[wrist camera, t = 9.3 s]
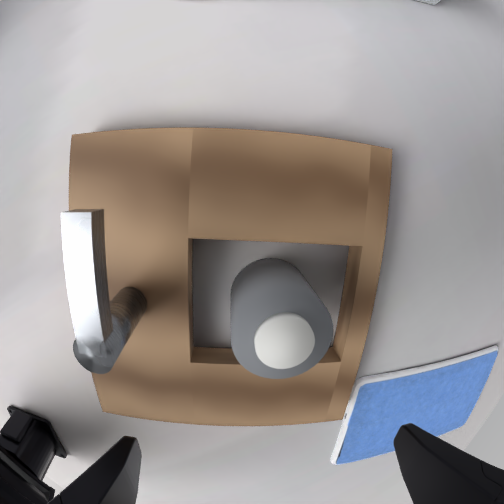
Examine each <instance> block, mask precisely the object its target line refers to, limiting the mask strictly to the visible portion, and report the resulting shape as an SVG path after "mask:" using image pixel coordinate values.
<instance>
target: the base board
mask: <svg viewBox="0 0 504 504" xmlns="http://www.w3.org/2000/svg"><path fill="white" fill-rule="evenodd" d="M391 167H392V149H389V148H384V147H379V146H374V145H369V144H363V143H358V142H352V141H346V140H340V139H333V138H326V137H319V136H311V135H303V134H294V133H285V132H274V131H262V130H247V129H228V128H146V129H128V130H114V131H102V132H92V133H83V134H74V135H72V138H71V150H70V167H69V211H70V210H74V209H104V229H105V253H106V268H107V280H108V291H109V300H110V301H111V300H112V299H113V297H114V296H115V295H116V294H117V293H118V292H119V291H120V290H121V289H123V288H125V287H134V288H137V289H138V290H140V291H141V292H142V293H143V294H144V296H145V297H146V300H147V309H146V311H145V313H144V315H143V316H142V318H141V320H140V321H139V323H138V325H137V326H136V328H135V330H134V331H133V333H132V335H131V336H130V338H129V340H128V341H127V343H126V345H125V346H124V348H123V350H122V352H121V353H120V355H119V357H118V359H117V360H116V362H115V364H114V366H113V367H112V369H111V370H110V371H109V372H108V373H105V374H96V373H93V372H91V373H92V377H93V381H94V384H95V388H96V391H97V395H98V398H99V401H100V404H101V407H102V410H103V412H107V413H112V414H117V415H123V416H129V417H135V418H141V419H148V420H156V421H164V422H173V423H184V424H197V425H216V426H274V425H293V424H306V423H317V422H326V421H335V420H342V419H343V416H344V413H345V410H346V407H347V404H348V401H349V398H350V395H351V392H352V388H353V385H354V382H355V378H356V375H357V371H358V368H359V364H360V361H361V357H362V353H363V349H364V345H365V341H366V337H367V333H368V329H369V324H370V320H371V315H372V311H373V306H374V301H375V296H376V291H377V286H378V280H379V274H380V268H381V262H382V256H383V249H384V242H385V234H386V226H387V217H388V207H389V196H390V183H391ZM193 238H194V239H219V240H243V241H266V242H288V243H309V244H329V245H348V246H349V252H348V259H347V267H346V274H345V280H344V287H343V293H342V299H341V305H340V311H339V317H338V322H337V327H336V333H335V338H334V343H333V347H329V349H328V351H327V352H326V354H325V355H324V357H323V358H322V359H321V360H320V361H319V362H318V363H317V364H316V365H315V366H314V367H312V368H311V369H309V370H308V371H306V372H304V373H302V374H300V375H297V376H294V377H290V378H285V379H270V378H264V377H260V376H258V375H255V374H253V373H251V372H249V371H248V370H247V369H245V368H244V367H243V366H242V365H241V364H240V363H239V362H238V360H237V359H236V357H235V355H234V353H233V350H232V348H210V347H194V343H193V301H192V248H193Z"/></svg>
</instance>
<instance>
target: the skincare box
mask: <svg viewBox="0 0 504 504" xmlns="http://www.w3.org/2000/svg"><path fill="white" fill-rule="evenodd" d="M416 1H420V2H423V3H427V4H431V5H435V4H437V3H438V2H439V1H441V0H416Z"/></svg>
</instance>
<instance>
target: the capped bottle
mask: <svg viewBox="0 0 504 504" xmlns="http://www.w3.org/2000/svg"><path fill="white" fill-rule="evenodd" d="M332 337H333V323H332V319H331V316H330V313H329V312H328V310H327V308H326V307H325V306H324V304H323V303H322V301H321V300H320V299H319V297H318V296H317V295H316V293H315V292H314V290H313V289H312V288H311V286H310V285H309V284H308V282H307V281H306V280H305V278H304V277H303V276H302V274H301V273H300V272H299V270H298V269H297V268H296V267H294V266H293V265H292V264H290V263H288V262H286V261H283V260H280V259H273V258H268V259H261V260H258V261H255V262H253V263H251V264H249V265H247V266H246V267H245V268H244V269H243V270H242V271H241V272H240V273H239V274H238V275H237V277H236V278H235V280H234V282H233V285H232V289H231V346H232V350H233V353H234V355H235V357H236V359H237V360H238V362H239V363H240V364H241V365H242V366H243V367H244V368H245V369H247V370H248V371H249V372H251V373H253V374H255V375H258V376H260V377H264V378H270V379H285V378H290V377H294V376H297V375H300V374H302V373H304V372H306V371H308V370H309V369H311V368H312V367H314V366H315V365H316V364H317V363H318V362H319V361H320V360H321V359H322V358H323V357H324V355H325V354H326V352H327V351H328V349H329V347H330V344H331V341H332Z"/></svg>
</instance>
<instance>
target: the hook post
mask: <svg viewBox="0 0 504 504" xmlns="http://www.w3.org/2000/svg"><path fill="white" fill-rule="evenodd" d="M61 231H62V247H63V258H64V268H65V277H66V285H67V292H68V299H69V305H70V311H71V316H72V322H73V327H74V332H75V337H76V340H75V341H74V344H73V351H74V354H75V357H76V359H77V360H78V362H79V363H80V364H81V365H82V366H83V367H84V368H85V369H87V370H89V371H90V372H93V373H96V374H105V373H108V372H109V371H110V370H111V369H112V367H113V366H114V364H115V362H116V360H117V359H118V357H119V355H120V353H121V352H122V350H123V348H124V346H125V345H126V343H127V341H128V340H129V338H130V336H131V335H132V333H133V331H134V330H135V328H136V326H137V325H138V323H139V321H140V320H141V318H142V316H143V315H144V313H145V311H146V309H147V300H146V297H145V296H144V294H143V293H142V292H141V291H140V290H138V289H137V288H134V287H125V288H123V289H121V290H120V291H119V292H118V293H117V294H116V295H115V296H114V297H113V299H112V300H111V301H110V300H109V291H108V280H107V268H106V253H105V229H104V209H74V210H70V211H65V212H61Z"/></svg>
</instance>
